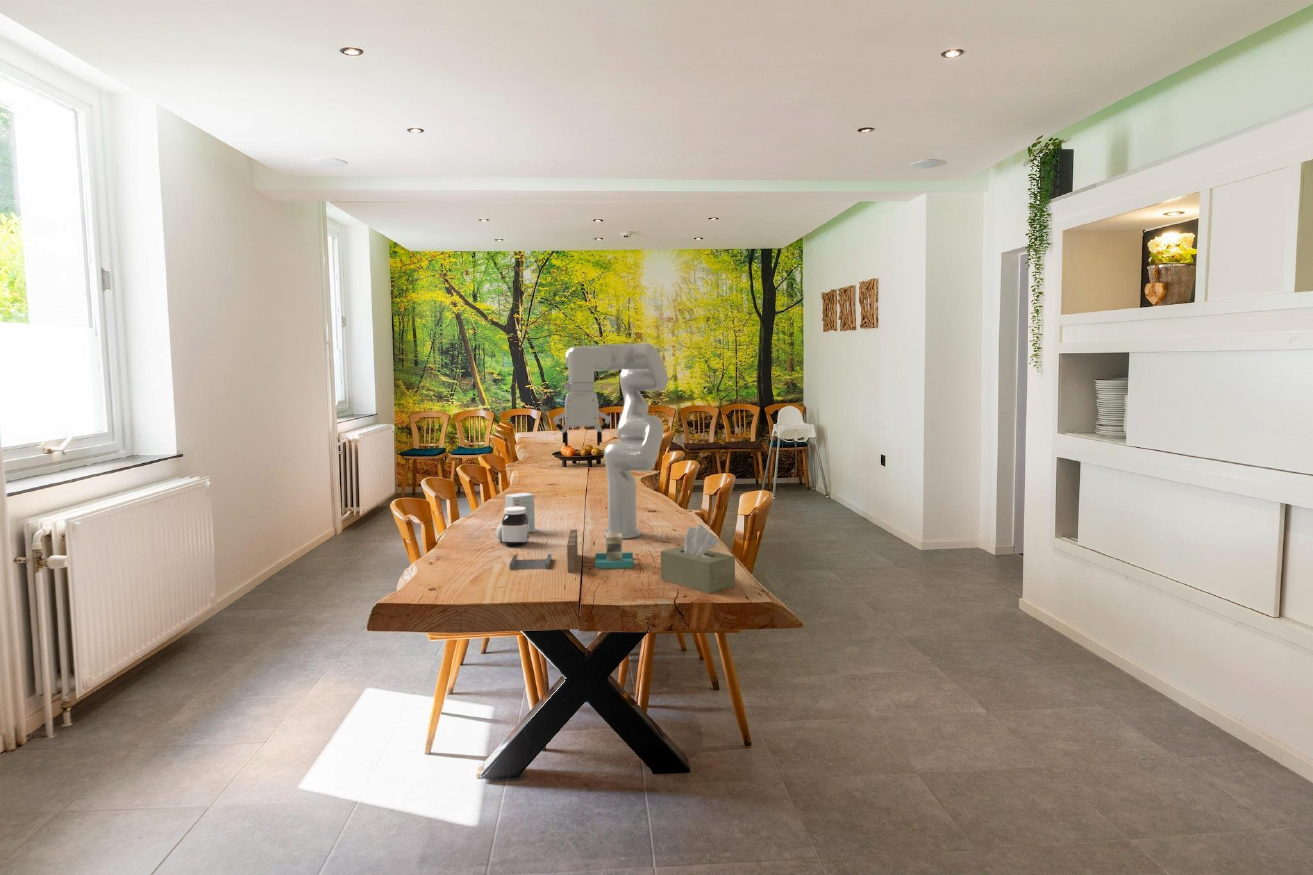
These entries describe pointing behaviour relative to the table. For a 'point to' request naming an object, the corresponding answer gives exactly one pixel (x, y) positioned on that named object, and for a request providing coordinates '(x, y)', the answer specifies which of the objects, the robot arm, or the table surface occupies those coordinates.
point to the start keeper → (530, 563)
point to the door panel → (572, 551)
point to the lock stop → (613, 546)
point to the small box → (523, 505)
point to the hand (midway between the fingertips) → (582, 445)
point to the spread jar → (514, 527)
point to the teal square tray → (625, 563)
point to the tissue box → (698, 563)
